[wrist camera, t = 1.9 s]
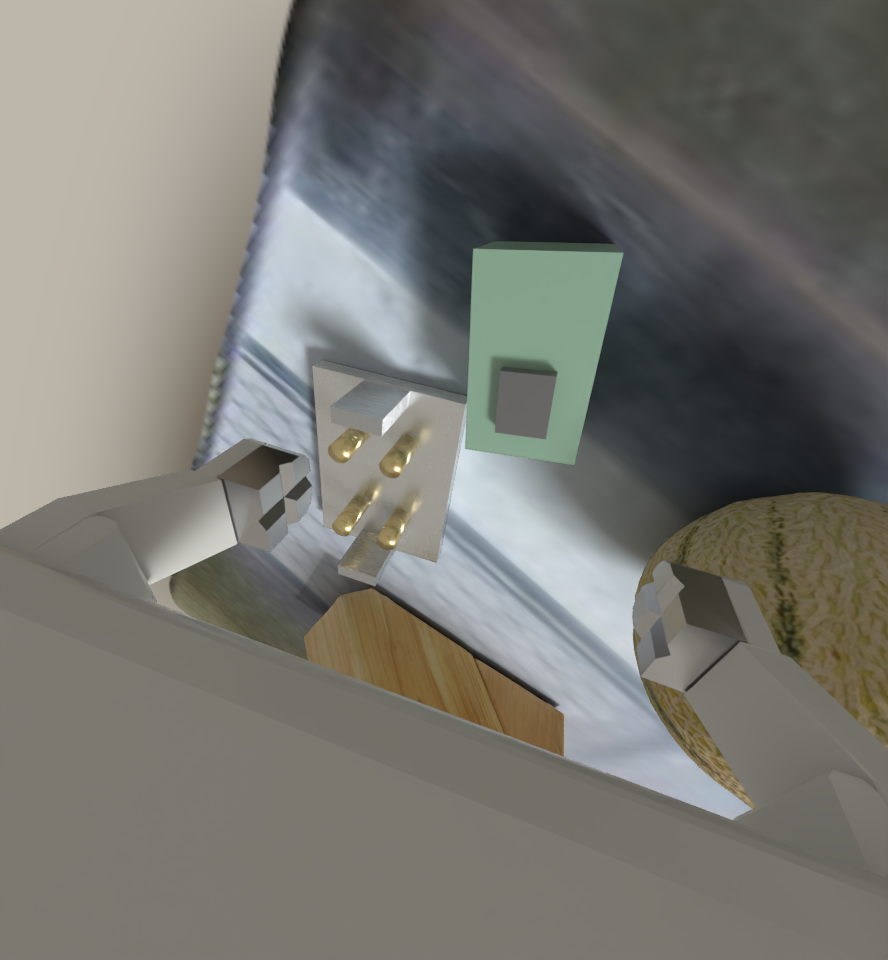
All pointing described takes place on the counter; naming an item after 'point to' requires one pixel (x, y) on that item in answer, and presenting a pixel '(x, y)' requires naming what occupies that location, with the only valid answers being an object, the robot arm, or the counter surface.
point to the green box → (536, 344)
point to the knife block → (427, 668)
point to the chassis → (385, 464)
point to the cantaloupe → (794, 602)
